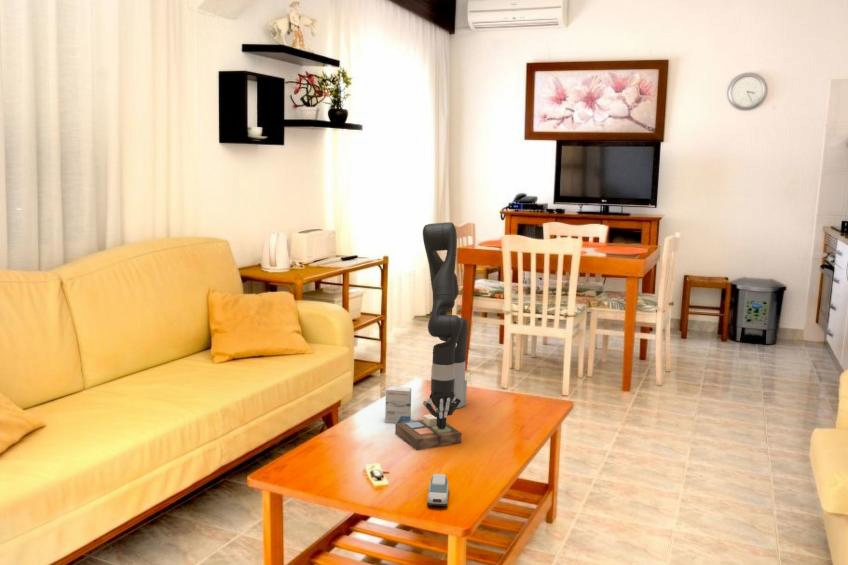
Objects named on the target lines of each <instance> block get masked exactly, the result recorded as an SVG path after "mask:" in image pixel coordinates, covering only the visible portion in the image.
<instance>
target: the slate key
mask: <svg viewBox="0 0 848 565" xmlns="http://www.w3.org/2000/svg"><path fill="white" fill-rule="evenodd" d="M406 426H407V427H408V428H409V429H411V430H413V429H420V428H424V425H422V424H421V423H420V422H412V423H406Z"/></svg>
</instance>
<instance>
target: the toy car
mask: <svg viewBox="0 0 848 565" xmlns="http://www.w3.org/2000/svg"><path fill="white" fill-rule="evenodd" d="M449 484H450V483H449V480H448V477H447V474H444V473H433V474H432V476H431V478H430V482H429V484H428V485H429V487H428V488H427V489H426V491H427V492H428V494H427V500H426V501H427V502H426V506H428V507H432V506H442V507H443V508H447V507H448V502H449V501H448V500H449V492H450V490H449V488H450V487H449Z"/></svg>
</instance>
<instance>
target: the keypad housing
mask: <svg viewBox="0 0 848 565" xmlns="http://www.w3.org/2000/svg"><path fill="white" fill-rule="evenodd" d="M412 422H420V423H421V424H422V425H424V428H428V429H429V430H431V431H432V432H433V434H432V435H425V436H419V435H418V434H416V433H415V432H414V429H413V430H411V429H409V428H408V427H407V426H406V423H412ZM432 427H435V426H432ZM432 427H429V426H427V425H426V424H424V423H423V419H418V420H410V422H403V423H395V427H394V428H395V430H394V431H395V433H394V434H395V435H396V436H397V437H399V438H400V439H401V440H403V441H404V442H405V443H407V444H408V445H409V446H411V448H413V449H414V450H416V451H420V450H427V449H433V448H440V447H445V446H452V445H458V444H459V445H460V444H462V433H463V432H461V431H459V430H458V429H456V428H455V427H453V426H452V425H450V424H449V423H447V422H446V427H448V428H449V429H451V432H446V433H439V434H438V433H436V432H435V431H433V430H432ZM420 429H421V428H420Z"/></svg>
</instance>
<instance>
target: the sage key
mask: <svg viewBox="0 0 848 565" xmlns="http://www.w3.org/2000/svg"><path fill="white" fill-rule="evenodd" d="M432 430H433V431H435V432H436V433H438V434H439V433H446V432H451V429H449V428H448V427H445V429H439V428H438V427H437V426H435V427H432Z"/></svg>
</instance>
